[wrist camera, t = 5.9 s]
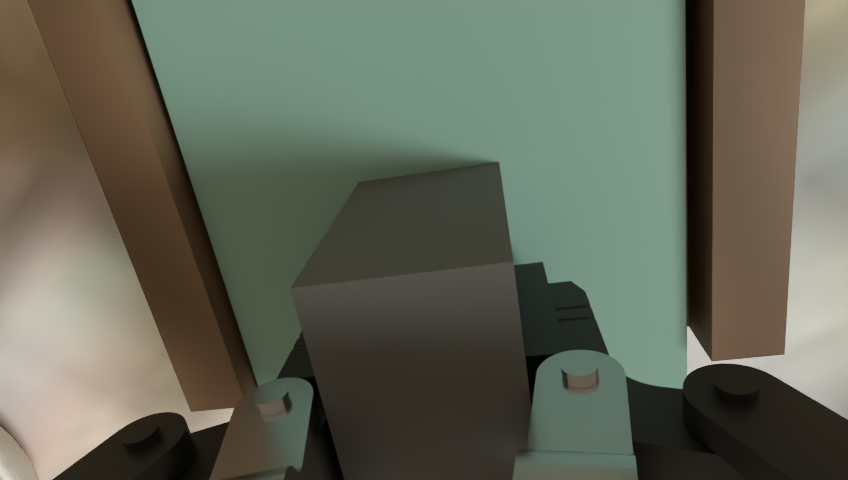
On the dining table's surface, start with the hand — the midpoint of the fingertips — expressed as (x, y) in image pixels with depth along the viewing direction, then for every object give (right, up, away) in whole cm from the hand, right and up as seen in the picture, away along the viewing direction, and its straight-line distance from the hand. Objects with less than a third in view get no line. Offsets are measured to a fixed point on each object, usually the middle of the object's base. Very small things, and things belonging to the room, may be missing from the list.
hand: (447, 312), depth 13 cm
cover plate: (0, +1, +1) cm, 2 cm away
